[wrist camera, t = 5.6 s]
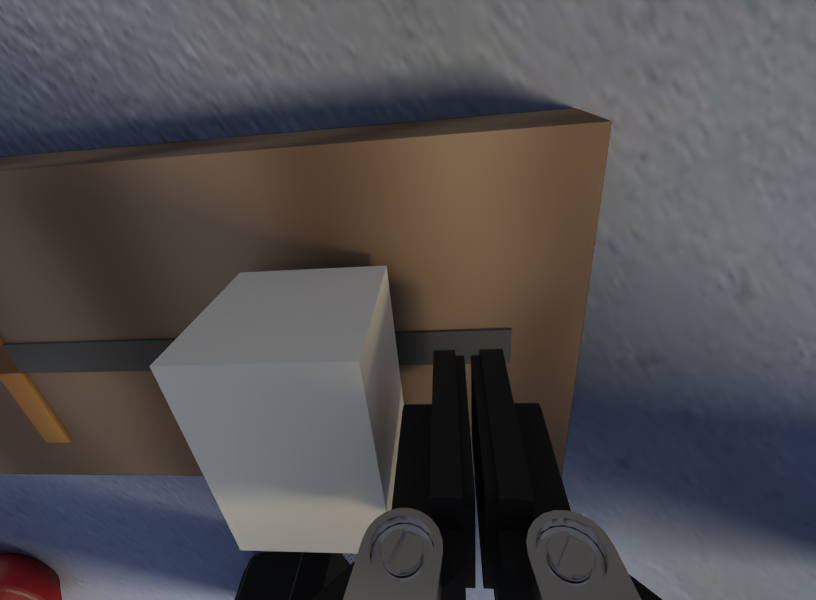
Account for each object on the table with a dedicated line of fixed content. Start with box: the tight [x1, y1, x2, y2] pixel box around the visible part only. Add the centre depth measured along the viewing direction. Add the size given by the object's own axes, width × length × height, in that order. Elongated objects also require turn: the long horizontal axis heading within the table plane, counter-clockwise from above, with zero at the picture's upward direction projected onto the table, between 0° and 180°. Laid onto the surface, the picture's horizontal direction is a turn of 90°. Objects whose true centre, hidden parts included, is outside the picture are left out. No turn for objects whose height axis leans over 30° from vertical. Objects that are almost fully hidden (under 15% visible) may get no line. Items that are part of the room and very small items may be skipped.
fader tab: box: [150, 266, 404, 554], centre depth 11 cm, size 4×6×4 cm, turn 5°
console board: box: [0, 108, 612, 478], centre depth 15 cm, size 26×12×3 cm, turn 95°
